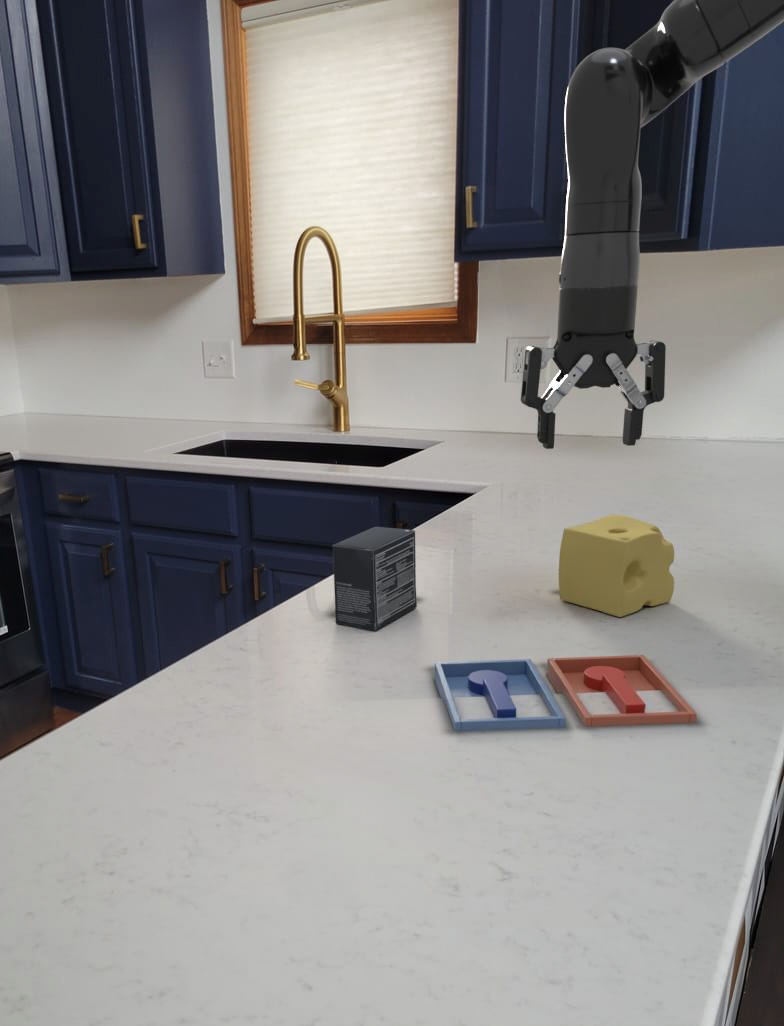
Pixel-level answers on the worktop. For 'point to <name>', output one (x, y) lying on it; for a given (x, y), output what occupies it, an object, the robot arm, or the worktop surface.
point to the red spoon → (614, 688)
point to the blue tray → (520, 682)
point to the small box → (374, 577)
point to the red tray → (637, 674)
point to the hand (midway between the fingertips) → (588, 446)
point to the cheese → (615, 565)
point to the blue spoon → (493, 692)
